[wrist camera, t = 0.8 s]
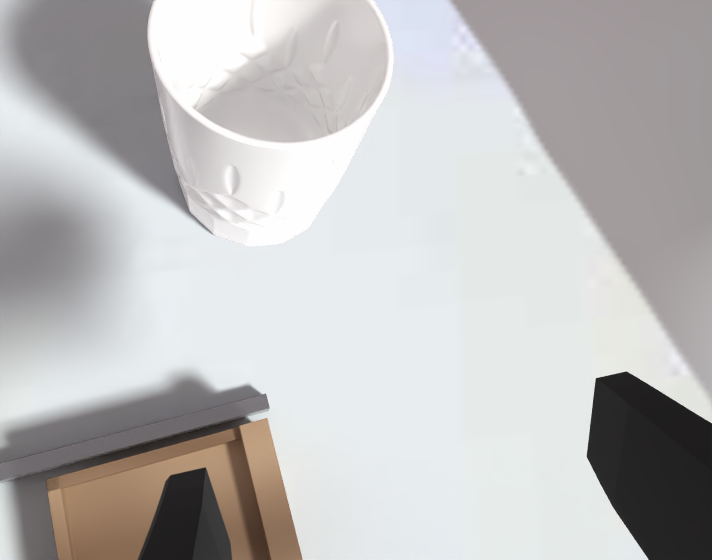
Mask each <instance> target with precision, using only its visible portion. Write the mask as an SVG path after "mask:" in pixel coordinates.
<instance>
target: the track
mask: <svg viewBox="0 0 712 560" xmlns="http://www.w3.org/2000/svg"><path fill="white" fill-rule="evenodd" d="M268 410H269V404H268V400H267V396H266V394H263V395H259V396H255V397H252V398H248V399H244V400H240V401H236V402H232V403H229V404H225V405H221V406H217V407H213V408H210V409H206V410H202V411H198V412H194V413H191V414H187V415H183V416H179V417H175V418H172V419H168V420H164V421H160V422H156V423H152V424H149V425H145V426H141V427H137V428H133V429H130V430H126V431H122V432H118V433H114V434H111V435H107V436H103V437H99V438H95V439H92V440H88V441H84V442H80V443H76V444H72V445H69V446H65V447H61V448H57V449H53V450H50V451H46V452H42V453H38V454H34V455H31V456H27V457H23V458H19V459H15V460H12V461H8V462H4V463H0V483H2V482H6V481H10V480H13V479H17V478H21V477H24V476H28V475H32V474H35V473H39V472H43V471H47V470H50V469H54V468H58V467H61V466H65V465H69V464H72V463H76V462H80V461H84V460H87V459H91V458H95V457H98V456H102V455H106V454H109V453H113V452H117V451H121V450H124V449H128V448H132V447H135V446H139V445H143V444H146V443H150V442H154V441H158V440H161V439H165V438H169V437H172V436H176V435H180V434H183V433H187V432H191V431H195V430H198V429H202V428H206V427H209V426H213V425H217V424H220V423H224V422H228V421H232V420H235V419H239V418H243V417H246V416H250V415H254V414H257V413H261V412H265V411H268Z"/></svg>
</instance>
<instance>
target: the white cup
mask: <svg viewBox="0 0 712 560" xmlns="http://www.w3.org/2000/svg"><path fill="white" fill-rule="evenodd" d="M147 41H148V48H149V53H150V58H151V63H152V68H153V73H154V77H155V82H156V87H157V93H158V98H159V103H160V108H161V113H162V118H163V123H164V128H165V132H166V134H167V139H168V143H169V147H170V152H171V156H172V160H173V164H174V167H175V171H176V173H177V174H178V180H179V183H180V186H181V189H182V192H183V194H184V197H185V200H186V203H187V205H188V208H189V211H190V213H191V214H193V215H194V216H195V217H196V218H197V219H198V220H199V221H200V222H201V223H202V224H203V225H204V226H205V227H206V228H207V229H208V230H209V231H211V232H212V233H213V234H214V235H215V236H218V237H221V238H224V239H227V240H230V241H233V242H236V243H239V244H241V245H244V246H259V245H271V244H281V243H283V242H285V241H286V240H288V239H290V238H292V237H293V236H295V235H297V234H299V233H300V232H302V231H304V230H306V229H307V228H309V226H310V225H311V223H312V222H313V220H314V219H315V217H316V216H317V214H318V212H319V211H320V209H321V208H322V206H323V205H324V203H325V201H326V200H327V198H328V197H329V196H330V195H331V194H332V192H333V191H334V189H335V187H336V185H337V184H338V182H339V181H340V179H341V177H342V176H343V174H344V172H345V170H346V168H347V167H348V165H349V163H350V161H351V159H352V157H353V155H354V153H355V151H356V149H357V148H358V146H359V144H360V142H361V140H362V138H363V136H364V134H365V132H366V130H367V128H368V126H369V124H370V123H371V121H372V119H373V117H374V115H375V113H376V111H377V109H378V108H379V106H380V104H381V102H382V100H383V98H384V96H385V94H386V92H387V90H388V87H389V84H390V81H391V77H392V71H393V45H392V40H391V36H390V32H389V29H388V26H387V24H386V21H385V19H384V17H383V15H382V13H381V11H380V9H379V8H378V6H377V5H376V3H375V2H374V0H154V1H153V3H152V6H151V9H150V13H149V18H148V25H147Z"/></svg>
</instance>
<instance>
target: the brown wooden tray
mask: <svg viewBox="0 0 712 560" xmlns="http://www.w3.org/2000/svg"><path fill="white" fill-rule="evenodd" d="M204 467H206V469H207V472H208V475H209V478H210V481H211V484H212V487H213V490H214V493H215V497H216V500H217V503H218V506H219V509H220V512H221V515H222V518H223V521H224V524H225V527H226V530H227V533H228V536H229V539H230V542H231V552H232V560H302V556H301V552H300V548H299V544H298V540H297V536H296V532H295V528H294V524H293V520H292V516H291V512H290V508H289V504H288V500H287V496H286V492H285V488H284V484H283V480H282V476H281V472H280V468H279V464H278V460H277V456H276V452H275V448H274V444H273V440H272V436H271V432H270V428H269V424H268V420H267V418H265V419H262V420H258V421H254V422H251V423H247V424H243V425H240V426H239V427H236V428H233V429H229V430H225V431H222V432H218V433H214V434H211V435H207V436H203V437H200V438H196V439H192V440H189V441H185V442H181V443H178V444H174V445H170V446H167V447H163V448H160V449H156V450H152V451H149V452H145V453H141V454H138V455H134V456H130V457H127V458H123V459H119V460H116V461H112V462H108V463H105V464H101V465H97V466H94V467H90V468H87V469H83V470H79V471H76V472H72V473H68V474H65V475H61V476H57V477H54V478H50V479H46V486H47V492H48V498H49V504H50V511H51V517H52V523H53V529H54V535H55V542H56V548H57V554H58V560H137V559H138V557H139V555H140V552H141V550H142V547H143V544H144V542H145V539H146V537H147V534H148V531H149V529H150V526H151V523H152V521H153V518H154V515H155V512H156V509H157V506H158V503H159V500H160V497H161V494H162V491H163V488H164V484H165V481H166V480H167V479H168V478H169V476H170V475H173V474H178V473H182V472H186V471H191V470H195V469H200V468H204Z"/></svg>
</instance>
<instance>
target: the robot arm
mask: <svg viewBox="0 0 712 560" xmlns="http://www.w3.org/2000/svg"><path fill="white" fill-rule="evenodd" d="M587 458H588V460H589V462H590V464H591V466H592V468H593V470H594V472H595V474H596V476H597V478H598V480H599V482H600V484H601V486H602V488H603V489H604V491H605V493H606V495H607V497H608V499H609V500H610V502H611V504H612V506H613V508H614V509H615V511H616V512H617V514H618V515H619V517H620V518H621V520H622V521H623V523H624V524H625V525H626V527H627V528H628V530H629V531H630V533H631V534H632V536H633V537H634V539H635V540H636V542H637V543H638V545H639V546H640V547H641V549H642V550H643V552H644V553H645V555H646V556H647V558H648V559H649V560H712V423H710V422H708V421H707V420H705V419H703V418H702V417H700V416H699V415H697V414H695V413H694V412H692V411H690V410H689V409H687V408H686V407H684V406H682V405H681V404H679V403H677V402H676V401H674V400H673V399H671V398H669V397H668V396H666V395H665V394H663V393H661V392H660V391H658V390H656V389H655V388H653V387H652V386H650V385H648V384H647V383H645V382H643V381H642V380H640V379H638V378H637V377H635V376H633V375H632V374H630V373H628V372H622V373H618V374H613V375H609V376H604V377H600V378H596V382H595V390H594V399H593V407H592V416H591V425H590V433H589V442H588V450H587ZM137 560H232V552H231V542H230V539H229V536H228V533H227V530H226V527H225V524H224V521H223V518H222V515H221V512H220V509H219V506H218V503H217V500H216V497H215V493H214V490H213V487H212V484H211V481H210V478H209V475H208V472H207V469H206V467H204V468H200V469H195V470H191V471H186V472H182V473H178V474H173V475H170V476H169V478H168V479H167V480H166V481H165V484H164V488H163V491H162V494H161V497H160V500H159V503H158V506H157V509H156V512H155V515H154V518H153V521H152V523H151V526H150V529H149V531H148V534H147V537H146V539H145V542H144V544H143V547H142V550H141V552H140V555H139V557H138V559H137Z"/></svg>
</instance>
